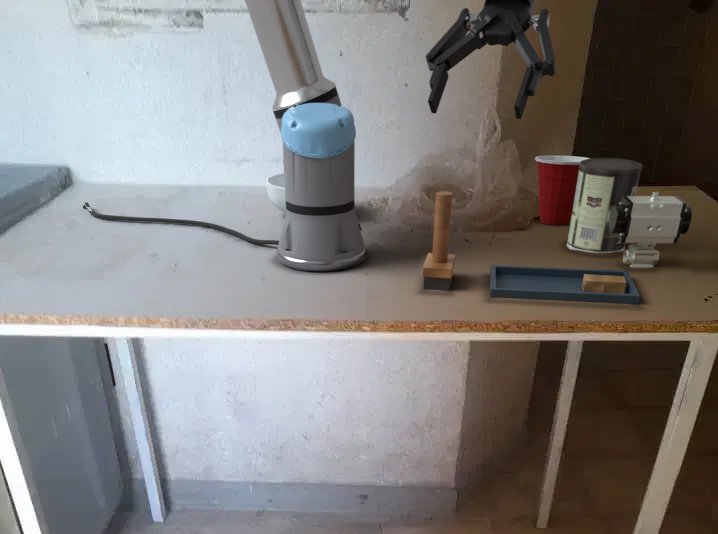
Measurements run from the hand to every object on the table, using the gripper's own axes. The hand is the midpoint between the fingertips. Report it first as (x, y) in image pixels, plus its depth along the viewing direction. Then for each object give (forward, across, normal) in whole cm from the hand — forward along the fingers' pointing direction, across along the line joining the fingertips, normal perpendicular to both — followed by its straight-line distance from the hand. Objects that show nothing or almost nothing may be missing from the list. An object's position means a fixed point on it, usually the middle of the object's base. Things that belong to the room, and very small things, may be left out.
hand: (473, 110), depth 111 cm
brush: (+24, 0, -9) cm, 26 cm away
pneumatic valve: (+8, -27, -25) cm, 38 cm away
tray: (+20, -18, -13) cm, 30 cm away
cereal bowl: (+4, +40, -29) cm, 49 cm away
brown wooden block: (+19, -23, -14) cm, 33 cm away
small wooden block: (+18, -26, -14) cm, 35 cm away
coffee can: (+2, -18, -31) cm, 36 cm away
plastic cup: (-8, -7, -42) cm, 43 cm away
